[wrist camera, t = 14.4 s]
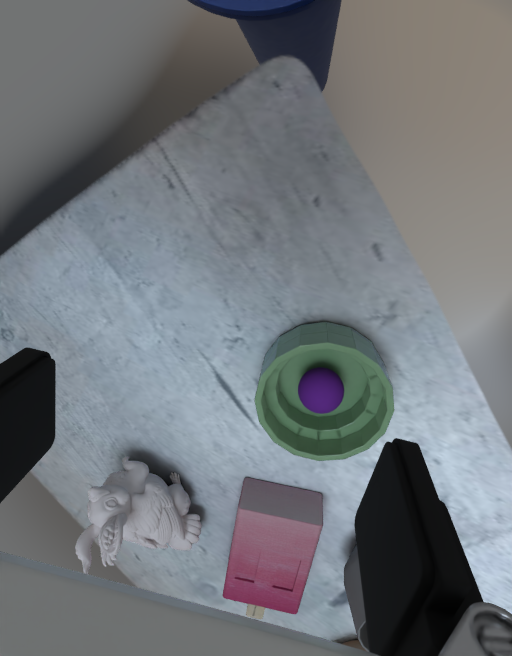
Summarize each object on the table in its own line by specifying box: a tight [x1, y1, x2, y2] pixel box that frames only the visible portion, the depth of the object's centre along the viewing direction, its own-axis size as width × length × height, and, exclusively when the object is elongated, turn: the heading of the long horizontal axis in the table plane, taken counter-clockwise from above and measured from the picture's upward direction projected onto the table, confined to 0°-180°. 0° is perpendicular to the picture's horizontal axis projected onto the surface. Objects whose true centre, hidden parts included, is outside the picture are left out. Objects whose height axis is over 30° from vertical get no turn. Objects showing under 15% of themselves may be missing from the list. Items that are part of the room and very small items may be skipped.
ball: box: [298, 367, 344, 414], centre depth 39 cm, size 4×4×4 cm
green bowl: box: [255, 322, 394, 461], centre depth 39 cm, size 12×12×6 cm
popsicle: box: [223, 478, 323, 619], centre depth 49 cm, size 9×5×20 cm
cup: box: [344, 544, 369, 652], centre depth 45 cm, size 10×9×10 cm
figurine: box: [75, 456, 202, 574], centre depth 44 cm, size 8×15×13 cm, turn 37°
